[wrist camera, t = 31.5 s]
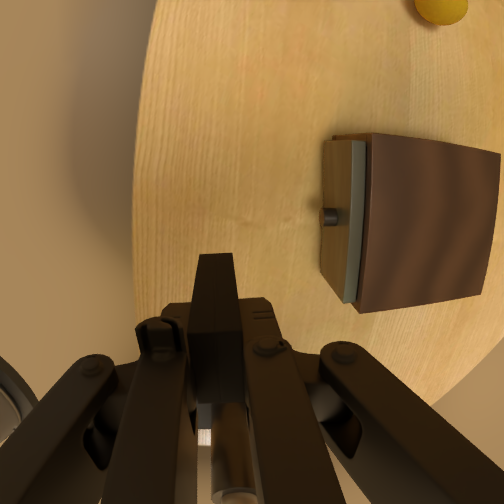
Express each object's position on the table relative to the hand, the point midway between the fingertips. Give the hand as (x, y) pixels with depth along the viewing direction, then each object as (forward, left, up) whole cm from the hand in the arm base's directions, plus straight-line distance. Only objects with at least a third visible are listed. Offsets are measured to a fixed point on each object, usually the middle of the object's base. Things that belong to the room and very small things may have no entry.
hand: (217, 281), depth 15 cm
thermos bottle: (0, -25, -15) cm, 29 cm away
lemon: (+23, +24, -16) cm, 37 cm away
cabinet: (+18, 0, -16) cm, 24 cm away
